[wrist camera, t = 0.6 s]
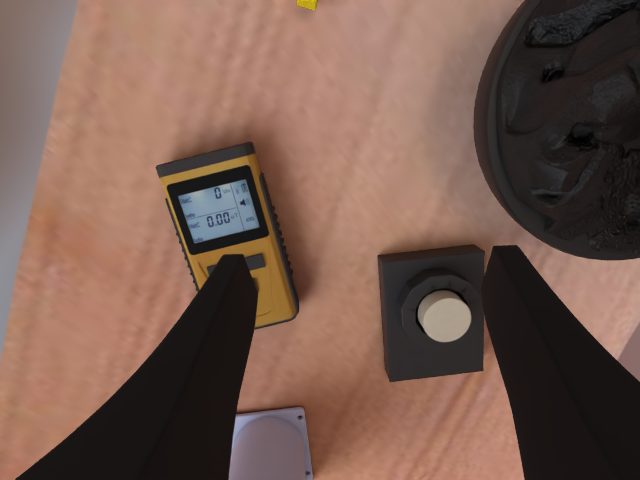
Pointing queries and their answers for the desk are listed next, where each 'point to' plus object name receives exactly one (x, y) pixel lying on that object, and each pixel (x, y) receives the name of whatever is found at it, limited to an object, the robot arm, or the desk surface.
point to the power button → (444, 316)
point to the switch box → (403, 302)
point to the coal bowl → (566, 124)
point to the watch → (307, 4)
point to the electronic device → (231, 224)
